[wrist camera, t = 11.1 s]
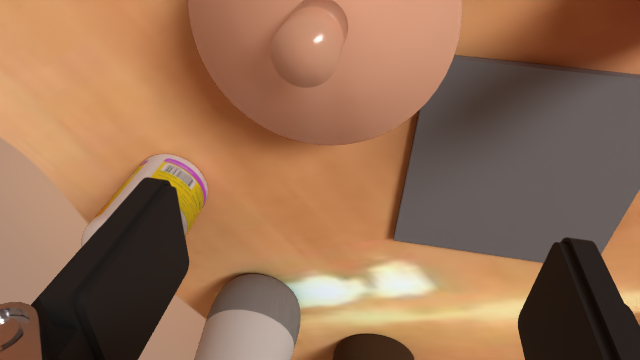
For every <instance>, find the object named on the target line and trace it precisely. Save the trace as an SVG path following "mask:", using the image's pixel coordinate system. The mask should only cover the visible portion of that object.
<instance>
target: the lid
mask: <svg viewBox="0 0 640 360" xmlns="http://www.w3.org/2000/svg"><path fill="white" fill-rule="evenodd" d="M188 12H189V19H190V25H191V30H192V34H193V37H194V41H195V44H196V47H197V50H198V52H199V55H200V57H201V59H202V61H203V64H204V66H205V67H206V69H207V71H208V73H209V74H210V76H211V78H212V79H213V81H214V82H215V84H216V85H217V86H218V88H219V89H220V90H221V92H222V93H223V94H224V95H225V96H226V97H227V99H228V100H229V101H230V102H231V103H232V104H233V105H234V106H235V107H236V108H238V109H239V110H240V111H241V112H242V113H243V114H244V115H246V116H247V117H248V118H250V119H251V120H253V121H254V122H255V123H257V124H259V125H260V126H262V127H264V128H266V129H267V130H269V131H271V132H274V133H276V134H278V135H281V136H283V137H286V138H289V139H292V140H296V141H299V142H304V143H310V144H317V145H345V144H351V143H357V142H361V141H365V140H368V139H372V138H375V137H377V136H379V135H382V134H384V133H386V132H389V131H390V130H392V129H394V128H396V127H397V126H399V125H401V124H402V123H404V122H405V121H406V120H408V119H409V118H410V117H412V116H413V115H414V114H415V113H416V112H417V111H418V110H419V109H420V108H421V107H422V106H424V105H425V104H426V103H427V101H428V100H429V99H430V98H431V96H432V95H433V94H434V93H435V91H436V90H437V89H438V87H439V85H440V84H441V82H442V80H443V79H444V77H445V75H446V73H447V71H448V69H449V67H450V64H451V62H452V60H453V57H454V54H455V51H456V47H457V44H458V41H459V35H460V28H461V22H462V0H188Z"/></svg>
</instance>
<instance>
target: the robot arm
mask: <svg viewBox="0 0 640 360" xmlns="http://www.w3.org/2000/svg"><path fill="white" fill-rule="evenodd" d="M188 267H189V257H188V251H187V245H186V240H185V234H184V228H183V223H182V217H181V211H180V206H179V200H178V195H177V190H176V188H175V187H173V186H171V184H170V182H169V181H168V180H164V179H157V178H150V177H146V178H144V179H142V180H141V181H140V183H139V184H138V185H137V186H136V187H135V188H134V189H133V191H132V192H131V193H130V194H129V195H128V196H127V197H126V199H125V200H124V201H123V202H122V203H121V204H120V205H119V206H118V208H117V209H116V210H115V211H114V212H113V213H112V214H111V216H110V217H109V218H108V219H107V220H106V221H105V222H104V224H103V225H102V226H101V227H99V228H98V230H97V231H96V232H95V233H94V234H93V235H92V236H91V237H90V239H89V240H88V241H87V242H86V243H85V244H84V245H83V247H82V248H81V249H80V250H79V251H78V252H77V253H76V255H75V256H74V257H73V258H72V259H71V260H70V261H69V262H68V264H67V265H66V266H65V267H64V268H63V269H62V270H61V271H60V273H59V274H58V275H57V276H56V277H55V278H54V279H53V281H52V282H51V283H50V284H49V285H48V286H47V287H46V289H45V290H44V291H43V292H42V293H41V294H40V295H39V297H38V298H37V299H36V300H35V301H34V302H33V303H32V304H31V305H29V304H25V303H22V302H9V303H4V304H0V360H138V358H139V356H140V355H141V353H142V351H143V349H144V348H145V346H146V344H147V342H148V341H149V339H150V337H151V335H152V333H153V332H154V330H155V328H156V326H157V325H158V323H159V321H160V319H161V317H162V316H163V314H164V312H165V310H166V309H167V307H168V305H169V303H170V302H171V300H172V298H173V296H174V295H175V293H176V291H177V289H178V287H179V286H180V284H181V282H182V280H183V279H184V277H185V275H186V273H187V271H188ZM518 330H519V335H520V339H521V343H522V348H523V352H524V357H525V360H640V326H639V324H638V322H637V320H636V318H635V316H634V314H633V312H632V311H631V309H630V308H629V307H628V306H627V305H626V304H624V302H623V300H622V298H621V296H620V294H619V291H618V289H617V287H616V285H615V283H614V281H613V279H612V277H611V275H610V273H609V271H608V269H607V267H606V265H605V263H604V260H603V258H602V256H601V254H600V252H599V250H598V248H597V246H596V244H595V243H594V242H593V241H589V240H583V239H576V238H569V237H566V238H564V239H562V241H561V242H555V243H554V244H553V245H552V247H551V249H550V251H549V253H548V255H547V257H546V259H545V262H544V264H543V266H542V268H541V270H540V272H539V274H538V276H537V278H536V281H535V283H534V285H533V287H532V289H531V291H530V293H529V295H528V297H527V300H526V302H525V304H524V306H523V308H522V310H521V312H520V315H519V318H518Z"/></svg>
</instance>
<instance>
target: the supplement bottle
mask: <svg viewBox="0 0 640 360" xmlns="http://www.w3.org/2000/svg"><path fill="white" fill-rule="evenodd" d="M146 177H150V178H157V179H164V180H168V181H169V182H170V184H171V186H173V187H175V188H176V190H177V195H178V200H179V206H180V211H181V217H182V223H183V228H184V234H185V237H186V235H187V233H188V232H189V230H190V228H191V227H192V225H193V223H194V221H195V220H196V218H197V216H198V215H199V213H200V211H201V209H202V207H203V206H204V204H205V202H206V200H207V196H208V187H207V183H206V181H205V179H204V177H203V175H202V174H201V172H200V171H199V170H198V169H197V168H196V167H195V166H194V165H193V164H192V163H190V162H189V161H187V160H185V159H183V158H181V157H178V156H175V155H170V154H158V155H154V156H151V157H149V158H147V159H146V160H145V161H144V162H143V163H142V164H141V165H140V166H139V167H138V168H137V169H136V170H135V172H134V173H133V174H132V175H131V176H130V177H129V179H128V180H127V181H126V182H125V183H124V184H123V185H122V187H121V188H120V189H119V190H118V191H117V192H116V193H115V195H114V196H113V197H112V198H111V199H110V200H109V201H108V203H107V204H106V205H105V206H104V207H103V208H102V209H101V211H100V212H99V213H98V214H97V215H96V216H95V217H94V219H93V220H92V221H91V222H90V223H89V224H88V226H87V227H86V228H85V230H84V232H83V236H82V243H81V244H82V247H83V245H84V244H85V243H86V242H87V241H88V240H89V239H90V237H91V236H92V235H93V234H94V233H95V232H96V231H97V230H98V228H99V227H101V226H102V225H103V224H104V222H105V221H106V220H107V219H108V218H109V217H110V216H111V214H112V213H113V212H114V211H115V210H116V209H117V208H118V206H119V205H120V204H121V203H122V202H123V201H124V200H125V199H126V197H127V196H128V195H129V194H130V193H131V192H132V191H133V189H134V188H135V187H136V186H137V185H138V184H139V183H140V181H141V180H142V179H144V178H146Z"/></svg>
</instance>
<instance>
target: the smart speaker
mask: <svg viewBox="0 0 640 360" xmlns="http://www.w3.org/2000/svg"><path fill="white" fill-rule="evenodd" d="M299 328H300V307H299V303H298V300H297V298H296V296H295V294H294V293H293V291H292V290H291V289H290V288H289V287H288V286H287V285H285V284H284V283H282V282H281V281H279V280H277V279H275V278H273V277H270V276H267V275H262V274H246V275H241V276H239V277H236V278H234V279H233V280H231V281H230V282H229V283H227V284H226V285H225V286H224V287H223V289H222V290H221V291H220V292H219V294H218V295H217V297H216V299H215V300H214V302H213V304H212V307H211V309H210V312H209V314H208V317H207V320H206V323H205V326H204V329H203V333H202V336H201V339H200V342H199V346H198V349H197V352H196V355H195V359H194V360H291V357H292V354H293V351H294V348H295V344H296V341H297V337H298V333H299Z"/></svg>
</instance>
